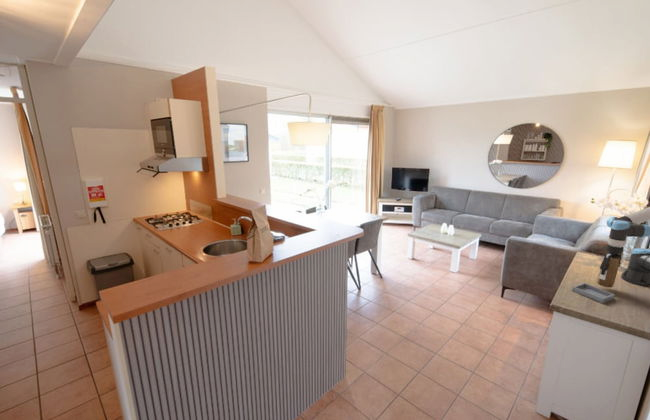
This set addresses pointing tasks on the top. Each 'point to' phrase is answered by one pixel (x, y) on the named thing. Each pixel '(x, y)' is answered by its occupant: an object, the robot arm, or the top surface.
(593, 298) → the tray
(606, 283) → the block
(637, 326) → the top surface
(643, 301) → the top surface
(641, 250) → the robot arm
